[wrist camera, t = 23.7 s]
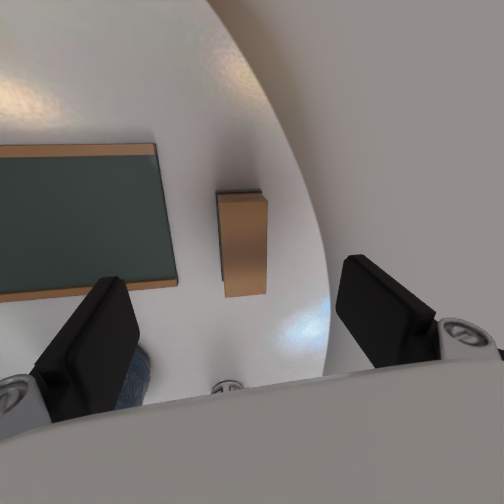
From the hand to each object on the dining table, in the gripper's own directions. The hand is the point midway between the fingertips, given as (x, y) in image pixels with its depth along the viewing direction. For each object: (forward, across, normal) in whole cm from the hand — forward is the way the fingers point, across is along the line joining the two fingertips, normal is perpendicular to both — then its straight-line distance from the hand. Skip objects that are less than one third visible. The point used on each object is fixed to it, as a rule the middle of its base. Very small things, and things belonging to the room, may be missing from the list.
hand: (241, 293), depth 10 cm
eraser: (+18, -2, +5) cm, 19 cm away
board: (+18, +17, +2) cm, 25 cm away
